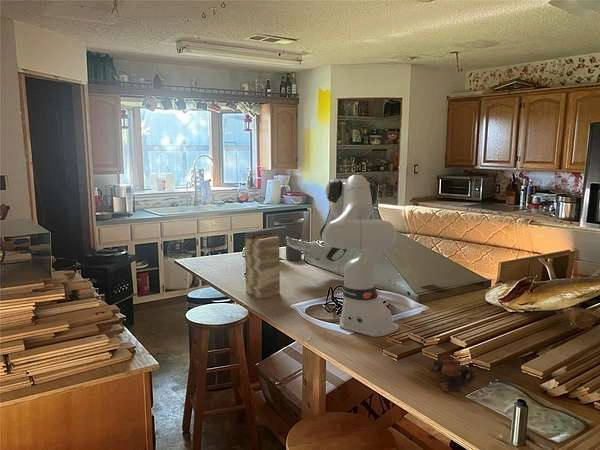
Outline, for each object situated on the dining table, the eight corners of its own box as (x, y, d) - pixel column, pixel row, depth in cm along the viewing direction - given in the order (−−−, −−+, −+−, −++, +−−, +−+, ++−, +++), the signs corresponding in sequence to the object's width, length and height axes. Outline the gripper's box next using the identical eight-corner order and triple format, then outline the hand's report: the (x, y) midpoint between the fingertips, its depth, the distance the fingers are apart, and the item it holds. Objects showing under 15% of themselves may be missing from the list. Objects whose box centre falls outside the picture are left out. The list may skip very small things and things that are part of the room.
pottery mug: (429, 392, 131) (426, 360, 134) (438, 393, 139) (435, 363, 142) (475, 390, 125) (471, 358, 128) (482, 391, 133) (477, 360, 136)
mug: (288, 261, 275) (288, 240, 273) (284, 257, 284) (283, 237, 282) (311, 259, 279) (311, 239, 277) (306, 256, 288) (306, 236, 286)
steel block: (287, 233, 219) (287, 227, 218) (248, 239, 206) (248, 232, 205) (283, 232, 221) (283, 226, 221) (244, 238, 208) (244, 231, 207)
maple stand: (279, 294, 215) (279, 234, 210) (261, 298, 208) (260, 237, 204) (264, 288, 224) (263, 231, 219) (246, 292, 218) (244, 233, 213)
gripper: (301, 241, 241) (282, 230, 232) (329, 248, 225) (310, 236, 216) (296, 253, 240) (277, 242, 231) (324, 260, 224) (304, 249, 215)
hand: (293, 239), depth 224 cm, fingers open, 8 cm apart
